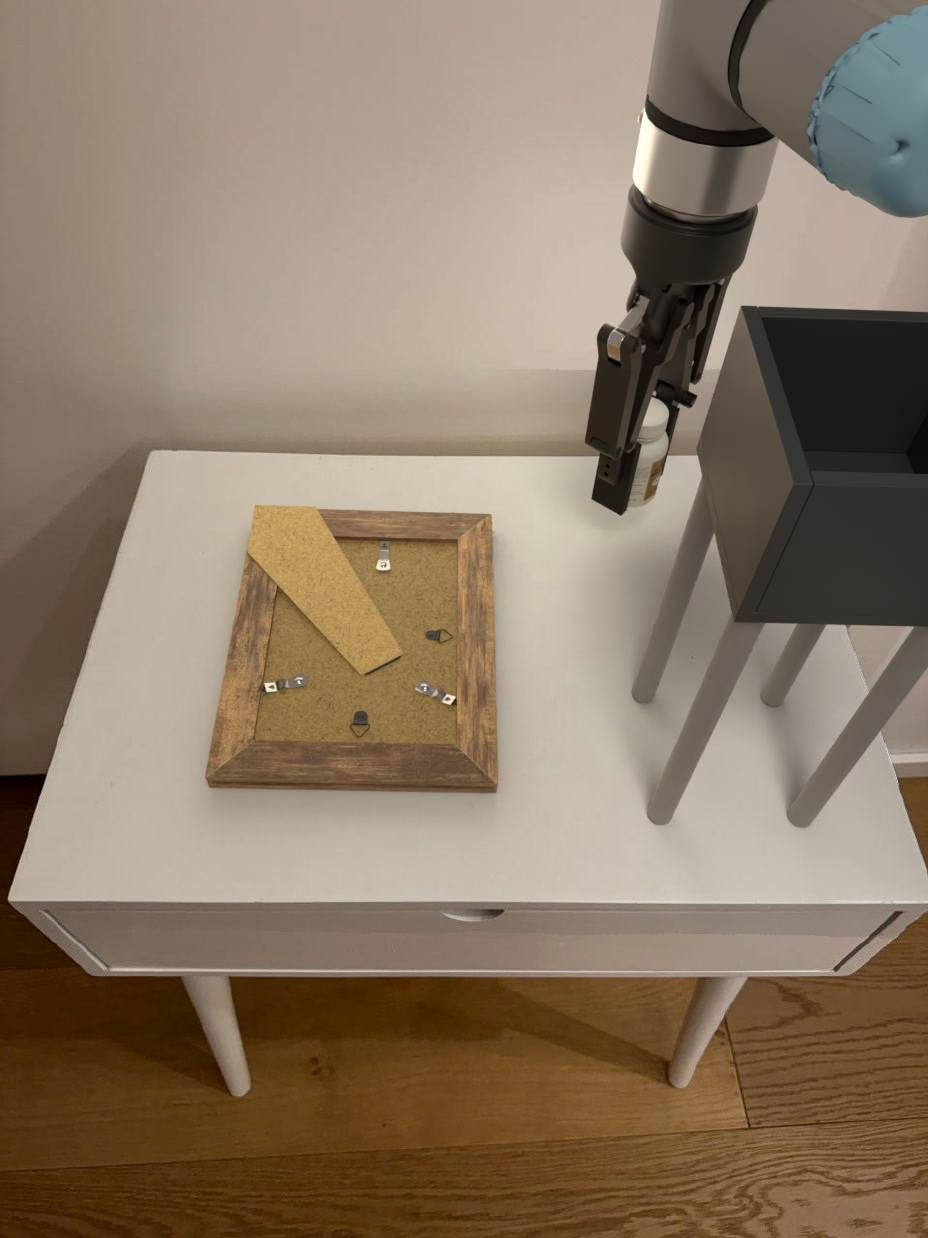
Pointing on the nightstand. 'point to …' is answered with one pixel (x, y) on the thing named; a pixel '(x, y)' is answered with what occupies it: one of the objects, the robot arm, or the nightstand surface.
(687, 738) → the legged open box
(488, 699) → the picture frame
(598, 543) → the nightstand surface
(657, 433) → the pill bottle
